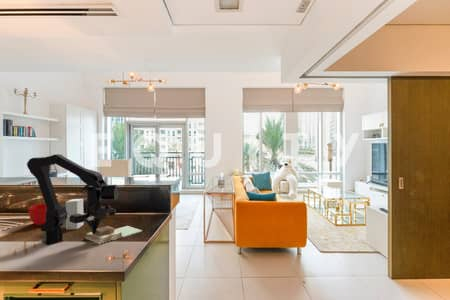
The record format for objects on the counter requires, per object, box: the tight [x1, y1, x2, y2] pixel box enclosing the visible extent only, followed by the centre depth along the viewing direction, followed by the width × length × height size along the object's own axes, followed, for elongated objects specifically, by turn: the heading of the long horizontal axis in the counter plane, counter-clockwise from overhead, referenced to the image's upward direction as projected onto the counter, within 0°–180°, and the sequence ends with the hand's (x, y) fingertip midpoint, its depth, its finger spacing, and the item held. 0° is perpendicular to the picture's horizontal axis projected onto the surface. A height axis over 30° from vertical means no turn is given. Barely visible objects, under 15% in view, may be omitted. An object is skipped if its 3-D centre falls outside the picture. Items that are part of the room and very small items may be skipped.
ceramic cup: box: [28, 203, 47, 227], centre depth 145 cm, size 13×17×10 cm
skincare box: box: [65, 198, 85, 230], centre depth 138 cm, size 8×6×15 cm
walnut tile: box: [95, 225, 115, 236], centre depth 122 cm, size 7×6×2 cm
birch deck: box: [85, 230, 123, 245], centre depth 122 cm, size 11×12×2 cm
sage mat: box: [114, 225, 143, 238], centre depth 132 cm, size 11×13×1 cm
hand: (93, 233), depth 118 cm, fingers closed
